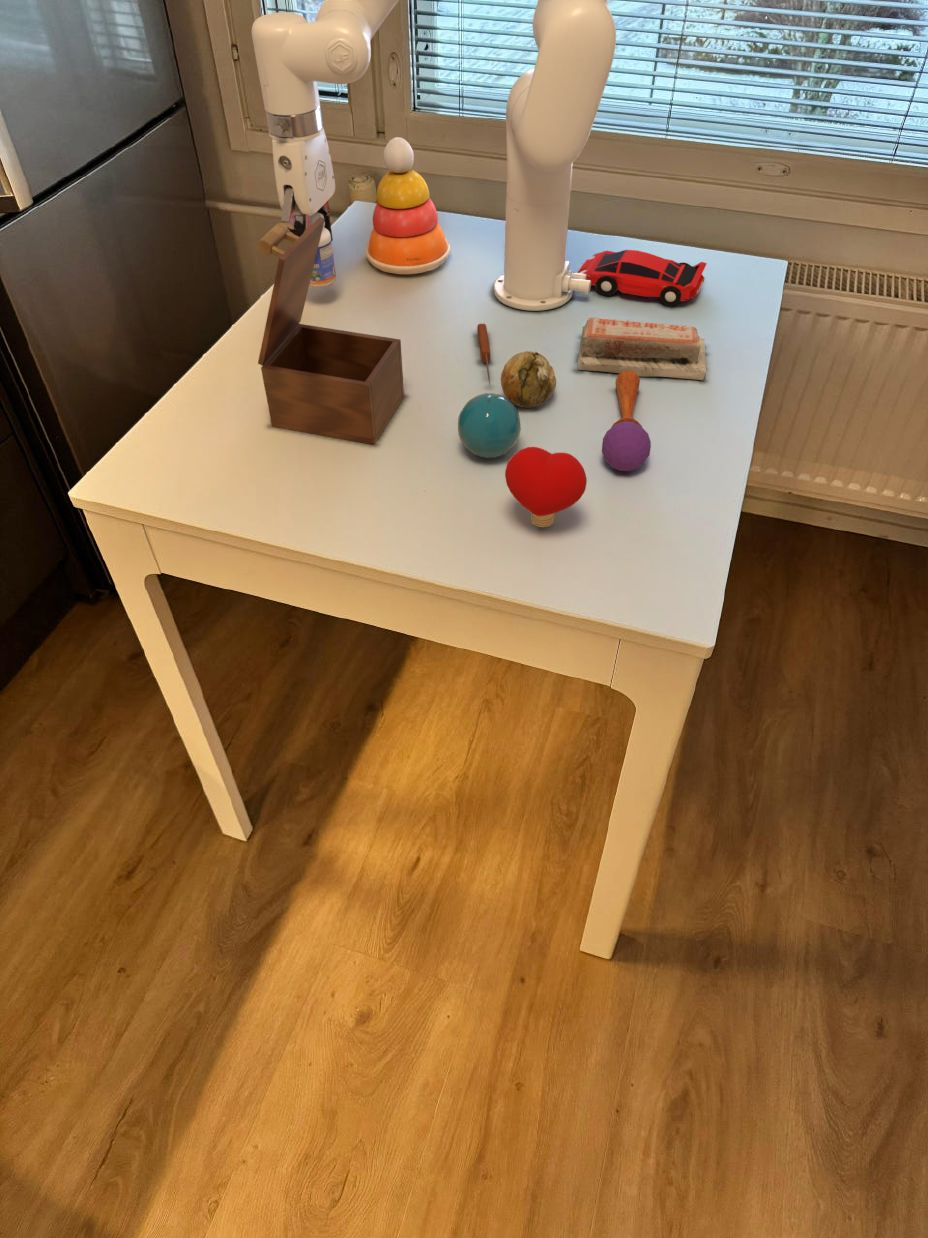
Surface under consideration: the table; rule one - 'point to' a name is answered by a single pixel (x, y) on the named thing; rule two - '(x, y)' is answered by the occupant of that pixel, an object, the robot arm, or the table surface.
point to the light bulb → (545, 482)
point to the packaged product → (642, 348)
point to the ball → (489, 425)
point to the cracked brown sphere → (528, 379)
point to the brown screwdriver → (484, 345)
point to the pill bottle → (322, 257)
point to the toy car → (643, 275)
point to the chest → (334, 383)
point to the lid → (288, 282)
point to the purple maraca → (626, 429)
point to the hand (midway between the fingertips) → (314, 248)
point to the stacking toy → (405, 218)
